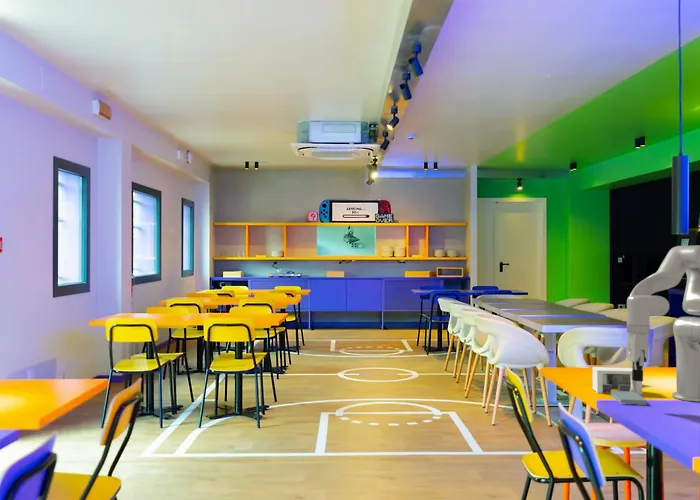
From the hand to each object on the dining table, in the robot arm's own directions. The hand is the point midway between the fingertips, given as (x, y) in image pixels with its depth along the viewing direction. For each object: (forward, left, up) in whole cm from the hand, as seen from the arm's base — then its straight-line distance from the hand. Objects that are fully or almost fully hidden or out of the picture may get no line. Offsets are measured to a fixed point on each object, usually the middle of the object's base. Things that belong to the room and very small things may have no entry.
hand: (637, 380), depth 217 cm
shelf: (-1, -29, -10) cm, 31 cm away
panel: (-1, -14, -11) cm, 18 cm away
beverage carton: (-4, -43, -11) cm, 45 cm away
